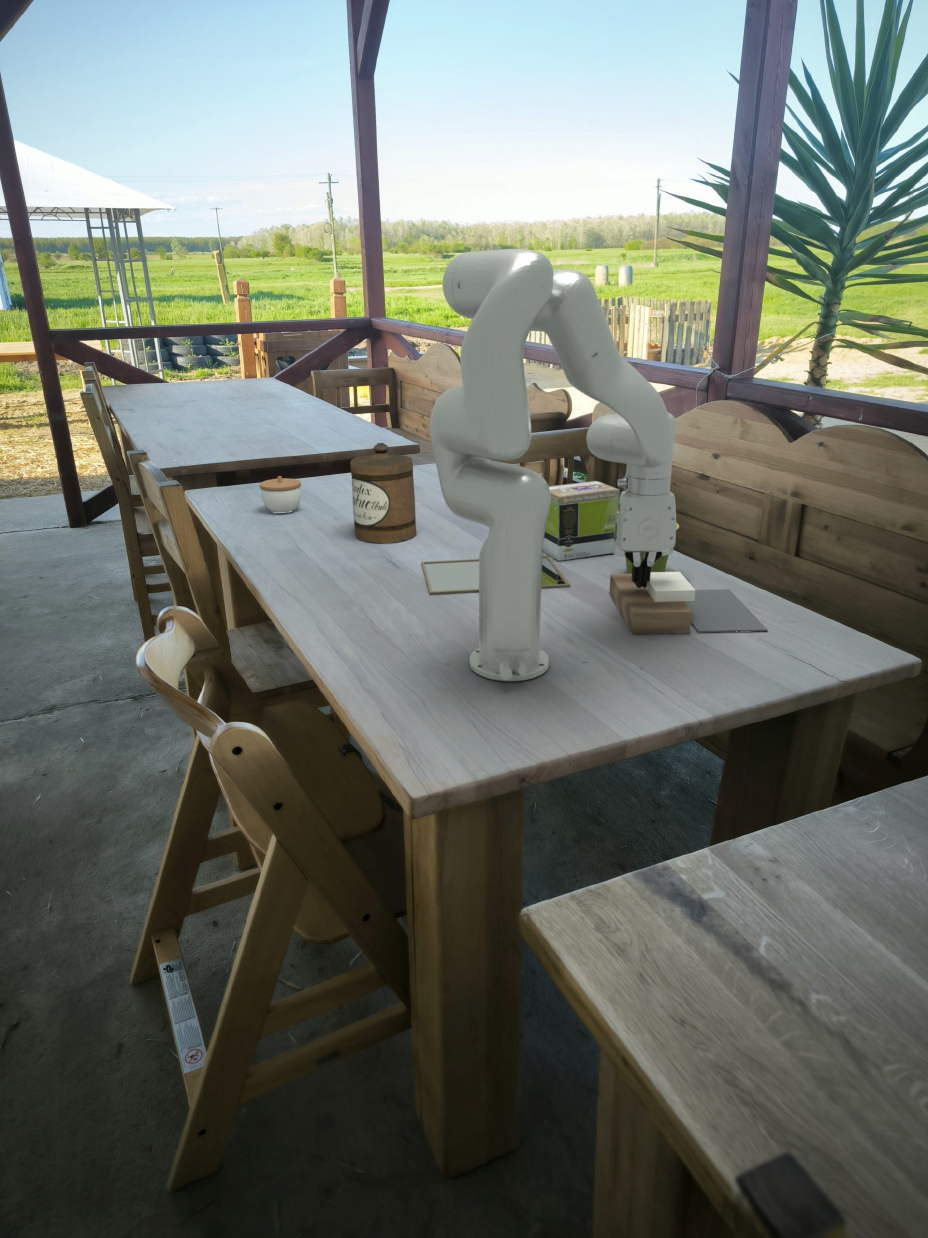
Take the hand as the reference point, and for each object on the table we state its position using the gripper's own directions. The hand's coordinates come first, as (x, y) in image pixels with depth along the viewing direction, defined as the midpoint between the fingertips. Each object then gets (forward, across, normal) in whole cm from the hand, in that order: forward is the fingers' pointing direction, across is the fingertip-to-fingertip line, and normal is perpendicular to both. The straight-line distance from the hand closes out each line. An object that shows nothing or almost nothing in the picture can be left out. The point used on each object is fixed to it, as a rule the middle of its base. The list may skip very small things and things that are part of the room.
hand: (640, 585), depth 147 cm
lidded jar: (+6, -78, +78) cm, 110 cm away
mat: (+5, +14, 0) cm, 15 cm away
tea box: (+6, -5, +37) cm, 38 cm away
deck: (+5, +2, 0) cm, 6 cm away
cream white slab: (+1, +5, 0) cm, 5 cm away
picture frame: (+6, -25, +22) cm, 34 cm away
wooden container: (+6, -49, +53) cm, 73 cm away
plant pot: (+6, +6, +19) cm, 20 cm away
